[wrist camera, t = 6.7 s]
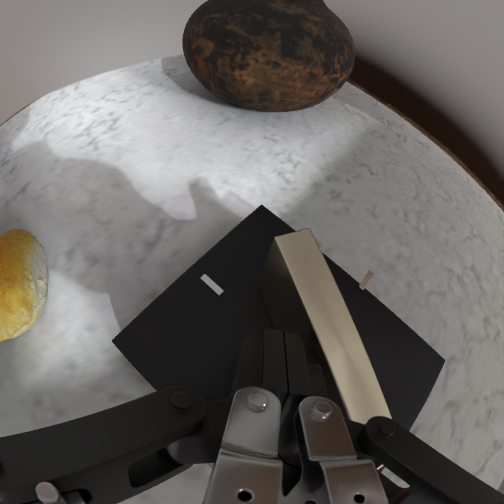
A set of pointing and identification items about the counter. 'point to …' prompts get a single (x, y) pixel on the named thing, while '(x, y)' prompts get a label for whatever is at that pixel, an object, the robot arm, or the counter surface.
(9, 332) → the bread roll
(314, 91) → the brown mottled bulbous container
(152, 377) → the black square dial panel
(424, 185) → the counter surface
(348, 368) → the red-tipped beige bar
